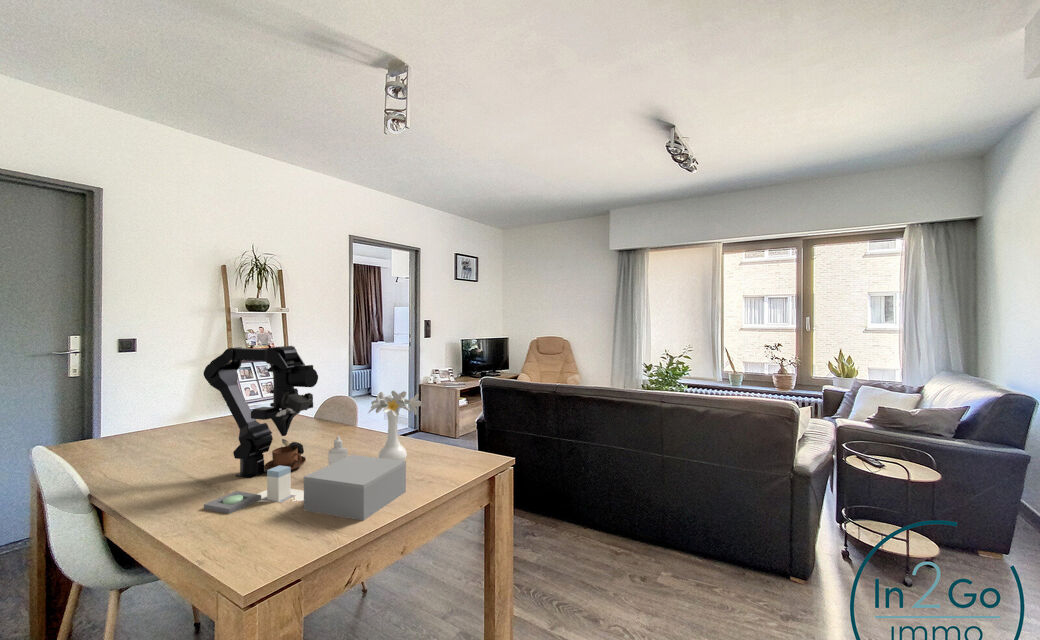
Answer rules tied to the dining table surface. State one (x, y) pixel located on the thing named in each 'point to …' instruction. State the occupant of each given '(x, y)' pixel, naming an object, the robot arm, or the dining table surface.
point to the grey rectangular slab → (354, 486)
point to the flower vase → (394, 421)
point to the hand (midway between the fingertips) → (283, 435)
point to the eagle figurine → (293, 445)
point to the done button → (232, 499)
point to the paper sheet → (294, 493)
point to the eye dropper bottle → (337, 452)
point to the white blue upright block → (278, 483)
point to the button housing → (226, 508)
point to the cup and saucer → (285, 458)
